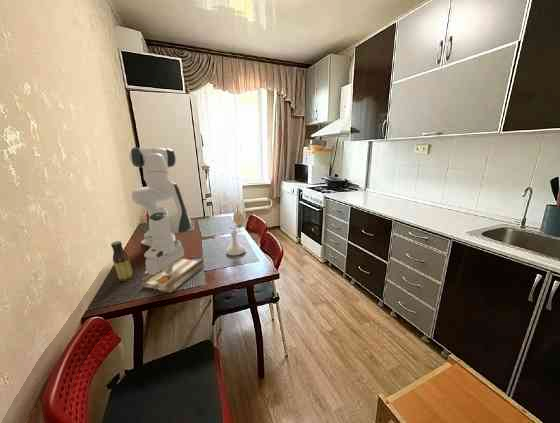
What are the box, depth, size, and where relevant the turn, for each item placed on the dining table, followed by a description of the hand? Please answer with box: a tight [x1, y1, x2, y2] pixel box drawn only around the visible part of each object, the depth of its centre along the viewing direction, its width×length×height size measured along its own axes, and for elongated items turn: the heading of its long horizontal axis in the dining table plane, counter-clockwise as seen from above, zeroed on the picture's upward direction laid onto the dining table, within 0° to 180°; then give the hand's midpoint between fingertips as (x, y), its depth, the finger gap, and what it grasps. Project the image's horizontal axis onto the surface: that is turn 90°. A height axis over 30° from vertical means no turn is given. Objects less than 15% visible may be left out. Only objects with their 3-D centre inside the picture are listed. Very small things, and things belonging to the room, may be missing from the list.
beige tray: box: [141, 257, 205, 293], centre depth 117 cm, size 16×24×4 cm, turn 161°
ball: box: [159, 276, 168, 283], centre depth 110 cm, size 4×4×4 cm
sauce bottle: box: [110, 240, 134, 282], centre depth 114 cm, size 7×6×20 cm
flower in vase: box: [225, 211, 246, 256], centre depth 136 cm, size 13×11×25 cm
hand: (169, 272), depth 113 cm, fingers closed
